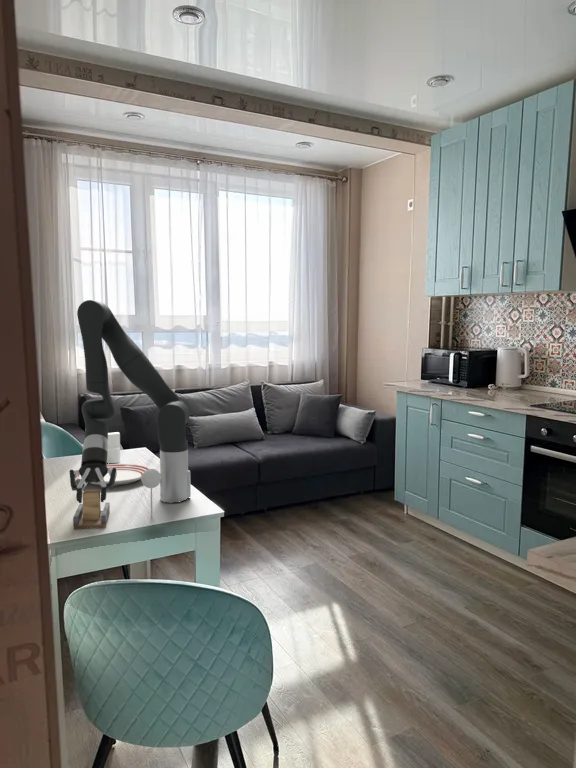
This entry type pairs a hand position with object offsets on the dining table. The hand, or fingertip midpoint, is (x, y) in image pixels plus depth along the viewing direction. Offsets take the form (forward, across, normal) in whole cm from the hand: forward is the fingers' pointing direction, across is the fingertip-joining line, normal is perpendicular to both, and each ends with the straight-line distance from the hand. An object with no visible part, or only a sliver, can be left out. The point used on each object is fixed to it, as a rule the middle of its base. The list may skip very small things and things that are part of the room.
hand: (91, 501), depth 164 cm
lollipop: (+3, +17, +7) cm, 19 cm away
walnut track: (+4, 0, +6) cm, 7 cm away
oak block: (+3, 0, +5) cm, 6 cm away
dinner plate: (-28, +2, +38) cm, 47 cm away
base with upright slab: (-47, -2, +57) cm, 74 cm away
